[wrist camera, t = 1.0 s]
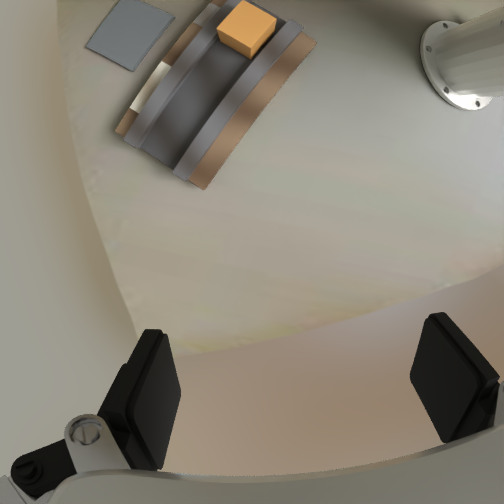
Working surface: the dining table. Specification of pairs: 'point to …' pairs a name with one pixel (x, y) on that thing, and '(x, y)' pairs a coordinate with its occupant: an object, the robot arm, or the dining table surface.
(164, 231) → the dining table surface
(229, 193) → the dining table surface
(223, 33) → the switch tab
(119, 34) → the mat
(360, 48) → the dining table surface
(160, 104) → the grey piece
